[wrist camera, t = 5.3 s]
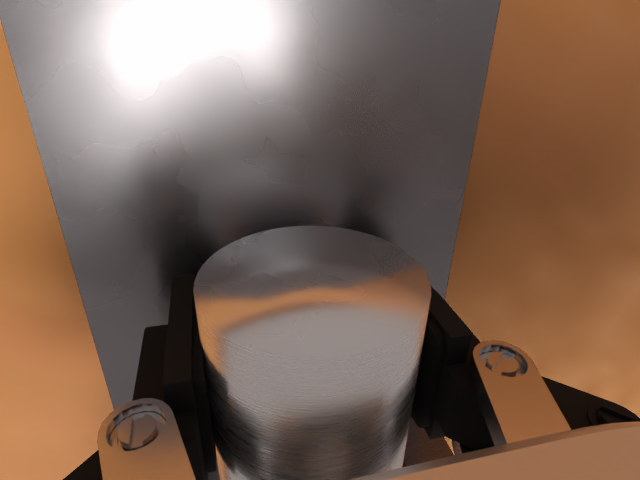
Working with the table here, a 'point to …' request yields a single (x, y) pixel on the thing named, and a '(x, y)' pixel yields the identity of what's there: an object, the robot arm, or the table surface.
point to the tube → (311, 352)
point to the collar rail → (244, 137)
